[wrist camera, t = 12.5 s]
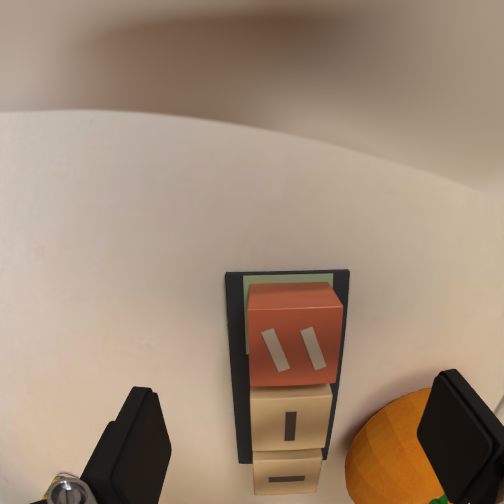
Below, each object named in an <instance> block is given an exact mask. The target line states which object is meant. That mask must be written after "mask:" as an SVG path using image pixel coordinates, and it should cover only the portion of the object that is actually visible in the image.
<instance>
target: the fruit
mask: <svg viewBox="0 0 504 504" xmlns="http://www.w3.org/2000/svg"><path fill="white" fill-rule="evenodd" d="M430 391H431V388H426V389H422V390H419V391H416V392H413V393H410V394H407V395H404V396H402V397H401V398H399V399H397V400H395V401H394V402H392V403H390V404H388V405H386V406H385V407H384V408H383V409H381V410H380V411H379V412H378V413H376V414H375V415H374V416H373V417H371V418H370V419H369V420H368V422H367V423H366V424H365V425H364V426H363V428H362V429H361V430H360V431H359V433H358V434H357V435H356V436H355V437H354V440H353V442H352V445H351V447H350V449H349V452H348V454H347V457H346V460H345V477H346V487H347V490H348V493H349V496H350V497H351V499H352V500H353V501H354V503H355V504H453V503H450V502H449V501H448V499H447V497H446V495H445V493H444V491H443V489H442V487H441V485H440V483H439V480H438V478H437V476H436V474H435V472H434V470H433V468H432V466H431V464H430V462H429V460H428V458H427V456H426V454H425V452H424V450H423V448H422V447H421V445H420V443H419V441H418V439H417V434H416V432H417V428H418V425H419V423H420V420H421V417H422V415H423V412H424V409H425V406H426V403H427V400H428V398H429V395H430Z"/></svg>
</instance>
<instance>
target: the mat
mask: <svg viewBox="0 0 504 504" xmlns="http://www.w3.org/2000/svg"><path fill="white" fill-rule="evenodd" d="M349 277H350V271H349V270H348V269H344V270H311V271H271V272H226V274H225V281H226V299H227V316H228V332H229V347H230V361H231V375H232V388H233V401H234V413H235V425H236V437H237V448H238V459H239V464H253V450H252V436H251V414H250V387H251V386H250V371H249V345H248V319H247V307H248V297H249V287H250V284H262V283H302V282H329V284H330V285H331V287H332V289H333V290H334V292H335V294H336V295H337V297H338V299H339V300H340V302H341V304H342V305H343V316H342V328H341V338H340V348H339V358H338V366H337V375H336V382H335V383H329V385H330V388H331V392H332V395H333V397H332V404H331V411H330V418H329V424H328V430H327V436H326V442H325V447H324V448H321V451H322V456H323V459H322V460H326V459H327V454H328V449H329V444H330V438H331V433H332V427H333V421H334V415H335V409H336V402H337V395H338V388H339V381H340V373H341V365H342V357H343V348H344V339H345V329H346V318H347V306H348V293H349Z"/></svg>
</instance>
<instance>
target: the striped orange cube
mask: <svg viewBox="0 0 504 504" xmlns="http://www.w3.org/2000/svg"><path fill="white" fill-rule="evenodd" d="M342 316H343V305H342V304H341V302H340V300H339V299H338V297H337V295H336V294H335V292H334V290H333V289H332V287H331V285H330V284H329V282H302V283H262V284H250V287H249V297H248V307H247V319H248V345H249V371H250V386H251V387H260V386H294V385H312V384H327V383H335V382H336V375H337V366H338V358H339V348H340V338H341V328H342Z"/></svg>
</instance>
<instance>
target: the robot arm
mask: <svg viewBox="0 0 504 504" xmlns="http://www.w3.org/2000/svg"><path fill="white" fill-rule="evenodd" d="M416 434H417V439H418V441H419V443H420V445H421V447H422V448H423V450H424V452H425V454H426V456H427V458H428V460H429V462H430V464H431V466H432V468H433V470H434V472H435V474H436V476H437V478H438V480H439V483H440V485H441V487H442V489H443V491H444V493H445V495H446V497H447V499H448V501H449V502H450V503H453V504H468V503H470V504H504V426H503V425H502V424H501V422H500V421H499V420H498V419H497V417H496V416H495V415H494V414H493V412H492V411H491V410H490V409H489V407H488V406H487V405H486V404H485V402H484V401H483V400H482V399H481V398H480V396H479V395H478V394H477V393H476V392H475V390H474V389H473V388H472V387H471V386H470V385H469V383H468V382H467V381H466V380H465V379H464V378H463V376H462V375H461V374H460V373H459V372H458V371H457V370H456V369H450V370H445V371H441V372H440V373H439V374H438V376H437V377H435V379H434V382H433V385H432V388H431V391H430V395H429V398H428V400H427V403H426V406H425V409H424V412H423V415H422V417H421V420H420V423H419V425H418V428H417V432H416ZM171 451H172V449H171V443H170V440H169V436H168V433H167V429H166V425H165V422H164V418H163V414H162V410H161V406H160V402H159V398H158V395H157V393H155V392H152V389H151V388H146V387H136V386H134V387H133V388H132V389H131V391H130V393H129V395H128V397H127V399H126V401H125V403H124V405H123V407H122V408H121V410H120V412H119V414H118V416H117V418H116V420H115V421H111V422H109V423H108V425H107V427H106V428H105V430H104V432H103V434H102V436H101V438H100V440H99V442H98V444H97V446H96V448H95V450H94V452H93V453H92V455H91V457H90V459H89V461H88V463H87V465H86V467H85V469H84V471H83V473H82V475H81V477H80V479H77V478H71V477H67V478H61V479H59V480H57V481H55V482H54V483H52V484H51V485H50V487H49V488H48V490H47V494H46V497H47V499H44V500H41V501H37V502H34V503H31V504H158V501H159V497H160V494H161V490H162V486H163V483H164V479H165V475H166V471H167V468H168V464H169V460H170V457H171Z"/></svg>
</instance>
